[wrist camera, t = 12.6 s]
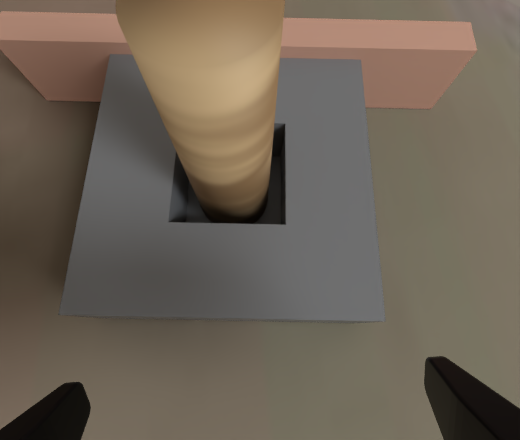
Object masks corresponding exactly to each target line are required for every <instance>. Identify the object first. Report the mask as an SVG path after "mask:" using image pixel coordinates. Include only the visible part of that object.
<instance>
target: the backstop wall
mask: <svg viewBox="0 0 520 440" xmlns="http://www.w3.org/2000/svg"><path fill="white" fill-rule="evenodd" d="M0 50H1V51H2V52H3V53H4V54H5V55H6V56H7V57H8V58H9V59H10V61H11V62H12V63H13V64H14V65H15V66H16V67H17V68H18V69H19V70H20V71H21V73H22V74H23V75H24V76H25V77H26V78H27V79H28V80H29V81H30V82H31V83H32V85H33V86H34V87H35V88H36V89H37V90H38V91H39V92H40V93H41V94H42V96H43V97H44V98H45V99H46V100H47V101H91V102H101V98H102V92H103V87H104V82H105V77H106V72H107V67H108V62H109V57H110V54H130V55H133V54H132V52H131V50H130V48H129V45H128V43H127V41H126V39H125V36H124V34H123V32H122V30H121V28H120V25H119V23H118V19H117V16H116V14H94V13H50V12H6V11H1V13H0ZM476 51H477V48H476V44H475V39H474V35H473V31H472V26H471V22H445V21H401V20H357V19H313V18H283V29H282V41H281V53H280V58H309V59H353V60H361V65H362V76H363V86H364V97H365V108H410V109H431V108H432V107H433V106H434V105H435V103H436V102H437V101H438V100H439V98H440V97H441V96H442V94H443V93H444V92H445V91H446V89H447V88H448V87H449V86H450V84H451V83H452V82H453V81H454V79H455V78H456V77H457V76H458V74H459V73H460V72H461V70H462V69H463V68H464V67H465V65H466V64H467V63H468V62H469V60H470V59H471V58H472V57H473V55H474V54H475V53H476Z"/></svg>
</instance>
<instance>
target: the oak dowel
mask: <svg viewBox="0 0 520 440" xmlns="http://www.w3.org/2000/svg"><path fill="white" fill-rule="evenodd" d="M284 6H285V0H116V16H117V19H118V23H119V25H120V28H121V30H122V32H123V34H124V36H125V39H126V41H127V43H128V45H129V48H130V50H131V52H132V54H133V56H134V59H135V61H136V63H137V65H138V68H139V70H140V72H141V74H142V76H143V79H144V81H145V83H146V85H147V88H148V90H149V92H150V94H151V96H152V99H153V101H154V103H155V105H156V108H157V110H158V112H159V114H160V116H161V119H162V121H163V123H164V125H165V128H166V130H167V132H168V134H169V136H170V139H171V141H172V143H173V145H174V148H175V150H176V152H177V154H178V156H179V159H180V161H181V163H182V165H183V168H184V170H185V172H186V174H187V176H188V179H189V181H190V183H191V185H192V188H193V190H194V192H195V194H196V196H197V199H198V201H199V203H200V205H201V208H202V210H203V212H204V214H205V215H206V217H207V218H208V219H209V220H210V221H211V222H212V223H230V224H253V223H255V222H256V221H257V220H258V219H259V218H260V217H261V216H262V215H263V213H264V211H265V209H266V206H267V202H268V191H269V180H270V168H271V157H272V145H273V134H274V122H275V110H276V99H277V87H278V76H279V64H280V53H281V41H282V29H283V18H284Z"/></svg>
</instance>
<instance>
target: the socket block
mask: <svg viewBox="0 0 520 440" xmlns="http://www.w3.org/2000/svg"><path fill="white" fill-rule="evenodd" d="M58 315H67V316H80V317H94V318H126V319H177V320H227V321H278V322H328V323H368V322H383V321H385V310H384V300H383V289H382V278H381V268H380V257H379V246H378V236H377V225H376V214H375V204H374V193H373V182H372V172H371V161H370V150H369V140H368V129H367V118H366V108H365V97H364V86H363V76H362V65H361V60H353V59H309V58H280V64H279V76H278V87H277V99H276V110H275V122H274V134H273V145H272V157H271V168H270V180H269V191H268V202H267V206H266V209H265V211H264V213H263V215H262V216H261V217H260V218H259V219H258V220H257V221H256V222H255V223H253V224H230V223H212V222H211V221H210V220H209V219H208V218H207V217H206V215H205V214H204V212H203V210H202V208H201V205H200V203H199V201H198V199H197V196H196V194H195V192H194V190H193V188H192V185H191V183H190V181H189V179H188V176H187V174H186V172H185V170H184V168H183V165H182V163H181V161H180V159H179V156H178V154H177V152H176V150H175V148H174V145H173V143H172V141H171V139H170V136H169V134H168V132H167V130H166V128H165V125H164V123H163V121H162V119H161V116H160V114H159V112H158V110H157V108H156V105H155V103H154V101H153V99H152V96H151V94H150V92H149V90H148V88H147V85H146V83H145V81H144V79H143V76H142V74H141V72H140V70H139V68H138V65H137V63H136V61H135V59H134V56H133V55H130V54H110V57H109V62H108V67H107V72H106V77H105V82H104V87H103V92H102V98H101V103H100V108H99V113H98V118H97V123H96V128H95V133H94V138H93V143H92V148H91V153H90V158H89V163H88V168H87V173H86V178H85V183H84V188H83V193H82V198H81V203H80V208H79V213H78V219H77V224H76V229H75V234H74V239H73V244H72V249H71V254H70V259H69V264H68V269H67V274H66V279H65V284H64V289H63V294H62V299H61V304H60V309H59V314H58Z"/></svg>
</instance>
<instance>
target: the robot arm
mask: <svg viewBox="0 0 520 440" xmlns="http://www.w3.org/2000/svg"><path fill="white" fill-rule="evenodd" d="M424 385H425V390H426V394H427V396H428V399H429V402H430V404H431V407H432V410H433V412H434V415H435V417H436V420H437V423H438V425H439V428H440V431H441V433H442V436H443V439H444V440H520V408H518V407H517V406H515V405H514V404H512V403H511V402H509V401H508V400H507V399H505V398H504V397H502V396H501V395H499V394H498V393H496V392H495V391H494V390H492V389H491V388H489V387H488V386H486V385H485V384H483V383H482V382H481V381H479V380H478V379H476V378H475V377H473V376H472V375H470V374H469V373H468V372H466V371H465V370H463V369H462V368H460V367H459V366H457V365H456V364H455V363H453V362H452V361H450V360H449V359H447V358H446V357H443V356H437V357H428V358H427V359H426V361H425V377H424ZM90 408H91V407H90V402H89V400H88V397H87V394H86V392H85V389H84V387H83V385H82V384H81V383H80V382H70V383H64V384H63V385H61V386H60V387H58V388H57V389H56V390H54V391H53V392H51V393H50V394H49V395H47V396H46V397H45V398H43V399H42V400H40V401H39V402H38V403H36V404H35V405H34V406H32V407H31V408H29V409H28V410H27V411H25V412H24V413H23V414H21V415H20V416H18V417H17V418H16V419H14V420H13V421H12V422H10V423H9V424H7V425H6V426H5V427H3V428H2V429H1V430H0V440H81V437H82V435H83V432H84V429H85V426H86V423H87V420H88V418H89V415H90Z"/></svg>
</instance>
